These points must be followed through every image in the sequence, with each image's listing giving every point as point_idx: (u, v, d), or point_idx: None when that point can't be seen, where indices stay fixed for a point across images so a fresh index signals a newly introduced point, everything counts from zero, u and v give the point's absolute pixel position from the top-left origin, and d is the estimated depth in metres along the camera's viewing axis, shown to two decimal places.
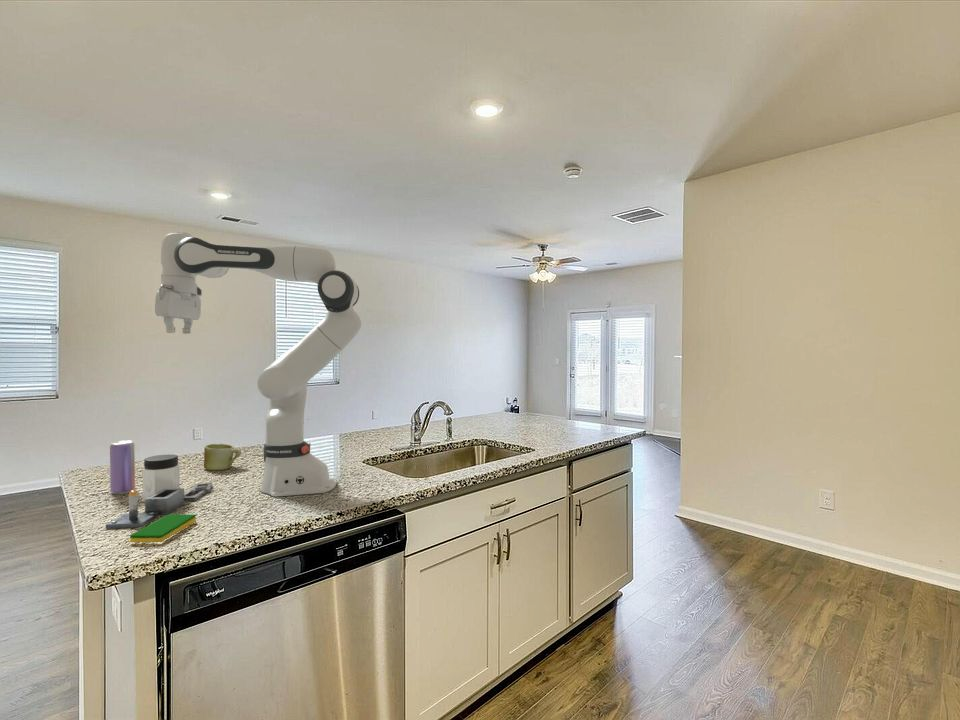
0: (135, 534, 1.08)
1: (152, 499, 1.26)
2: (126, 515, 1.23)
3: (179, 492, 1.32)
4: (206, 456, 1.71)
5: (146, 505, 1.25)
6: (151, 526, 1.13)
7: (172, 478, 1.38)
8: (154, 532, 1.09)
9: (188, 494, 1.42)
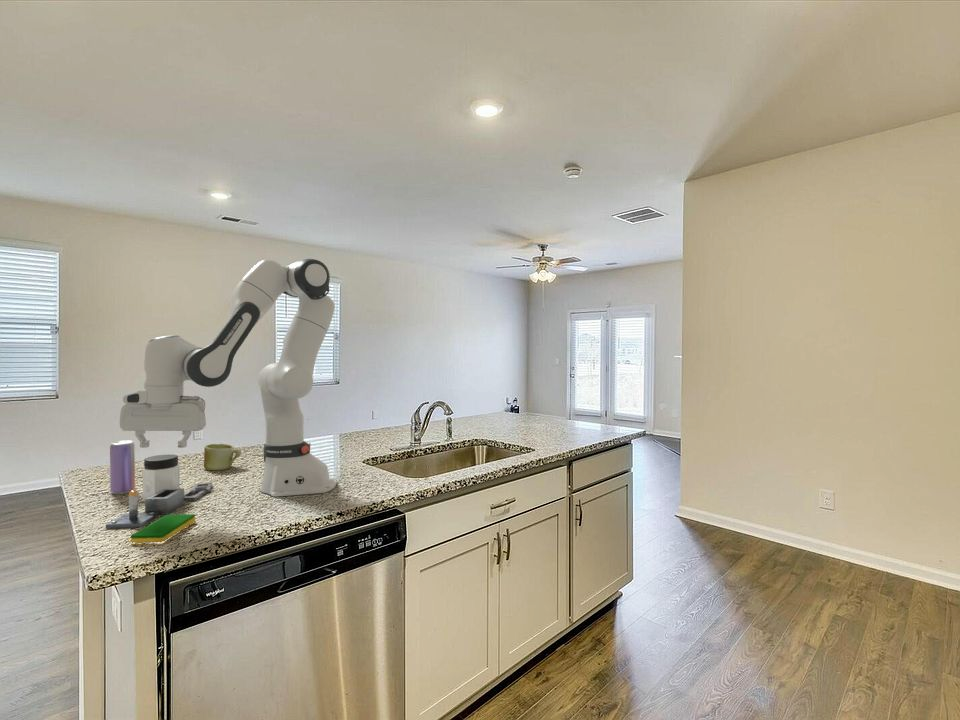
0: (136, 534, 1.08)
1: (152, 499, 1.26)
2: (126, 515, 1.23)
3: (179, 492, 1.32)
4: (206, 456, 1.71)
5: (146, 505, 1.25)
6: (151, 526, 1.13)
7: (172, 478, 1.38)
8: (155, 532, 1.09)
9: (188, 494, 1.42)
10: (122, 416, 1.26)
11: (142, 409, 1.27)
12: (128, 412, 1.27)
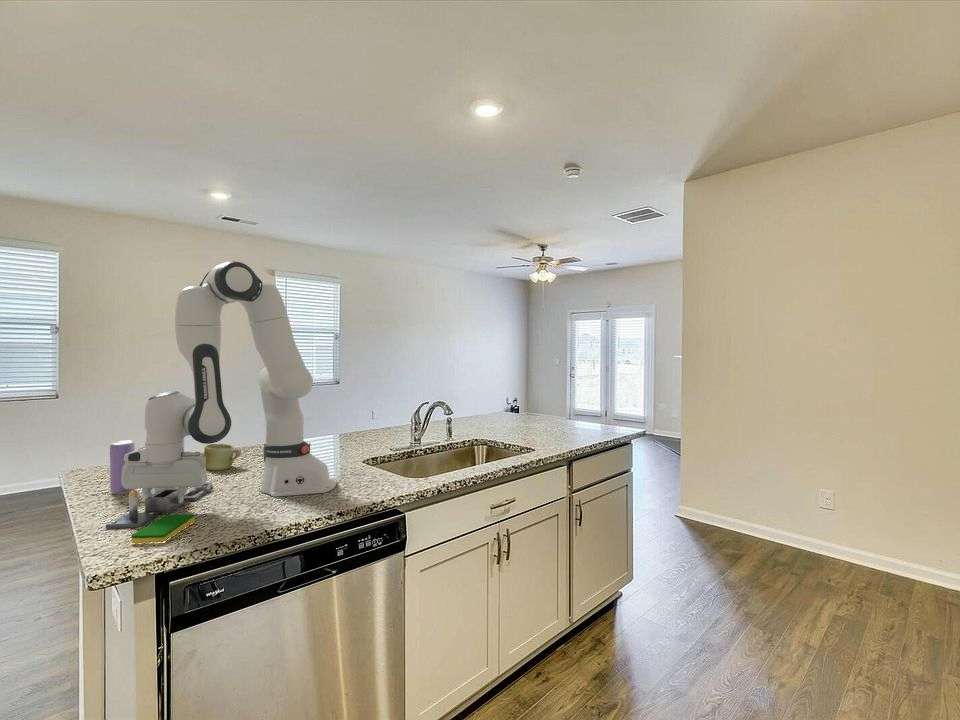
0: (136, 534, 1.08)
1: (152, 499, 1.26)
2: (126, 515, 1.23)
3: (179, 492, 1.32)
4: (206, 456, 1.71)
5: (146, 505, 1.25)
6: (151, 526, 1.13)
7: None
8: (156, 532, 1.10)
9: (188, 494, 1.42)
10: (123, 474, 1.27)
11: (143, 467, 1.28)
12: (130, 470, 1.27)
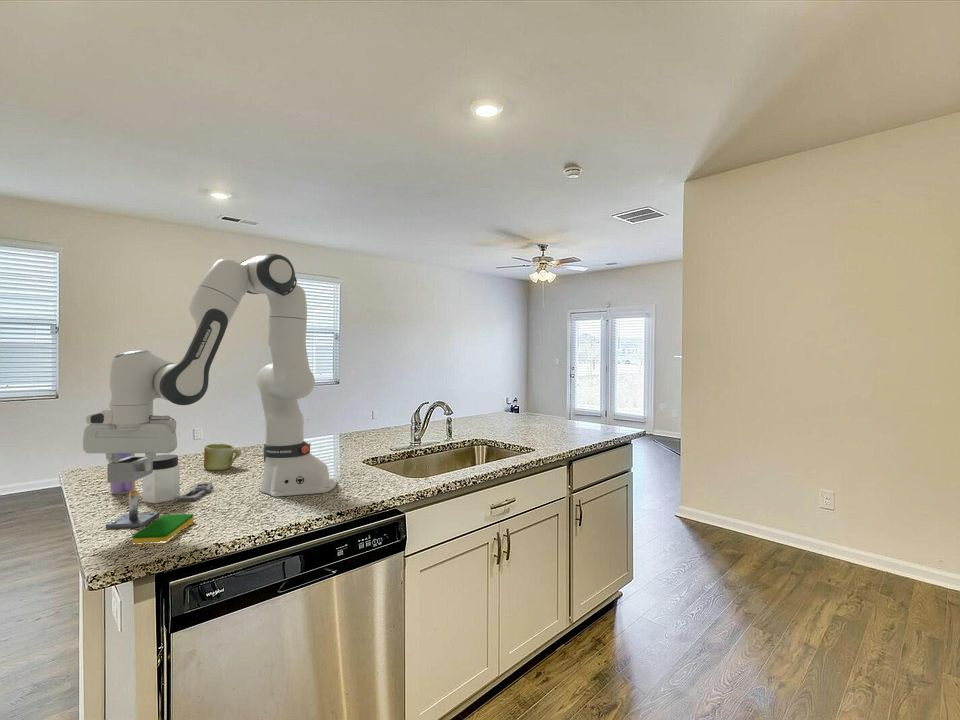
0: (137, 534, 1.08)
1: (115, 464, 1.16)
2: (126, 515, 1.23)
3: (146, 459, 1.22)
4: (206, 456, 1.71)
5: (109, 471, 1.16)
6: (151, 526, 1.13)
7: (172, 478, 1.38)
8: (157, 532, 1.10)
9: (188, 494, 1.42)
10: (85, 437, 1.17)
11: (107, 430, 1.18)
12: (92, 433, 1.17)
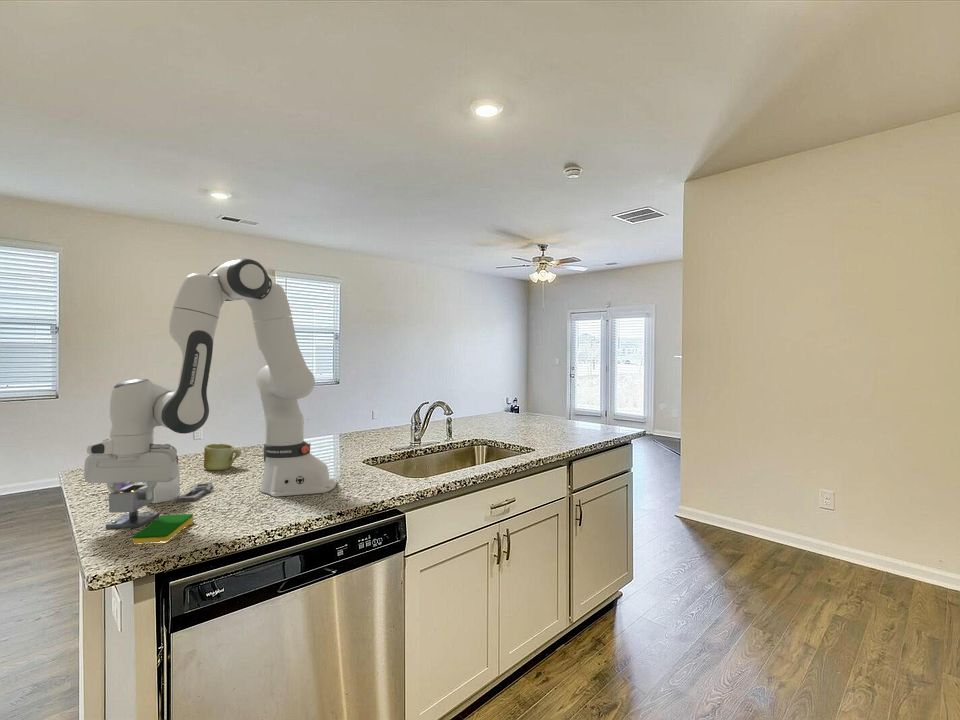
0: (138, 535, 1.08)
1: (117, 494, 1.16)
2: (126, 515, 1.23)
3: (148, 487, 1.23)
4: (206, 456, 1.71)
5: (110, 501, 1.16)
6: (151, 527, 1.13)
7: None
8: (157, 532, 1.10)
9: (188, 494, 1.42)
10: (86, 467, 1.17)
11: (108, 460, 1.18)
12: (93, 463, 1.18)
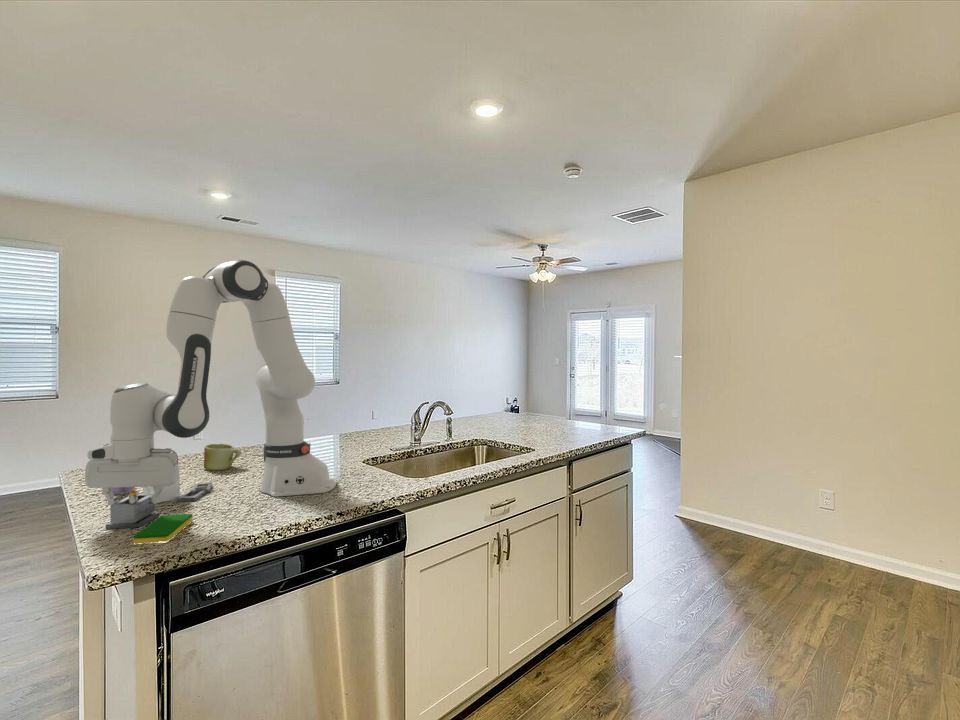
0: (138, 535, 1.08)
1: (118, 506, 1.16)
2: None
3: None
4: (206, 456, 1.71)
5: (111, 512, 1.16)
6: (151, 527, 1.13)
7: None
8: (158, 532, 1.10)
9: (188, 494, 1.42)
10: (87, 472, 1.17)
11: (109, 464, 1.18)
12: (94, 468, 1.18)
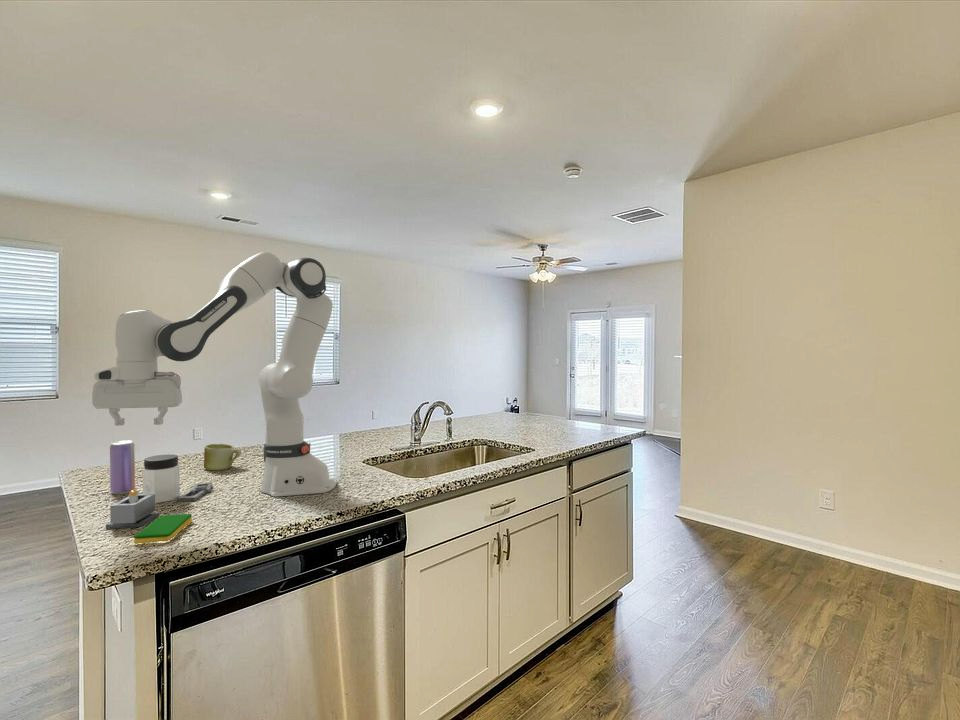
0: (139, 535, 1.08)
1: (118, 506, 1.16)
2: None
3: (149, 498, 1.23)
4: (206, 456, 1.71)
5: (111, 512, 1.16)
6: (151, 527, 1.13)
7: (172, 478, 1.38)
8: (159, 532, 1.10)
9: (188, 494, 1.42)
10: (94, 393, 1.23)
11: (115, 386, 1.24)
12: (101, 389, 1.24)
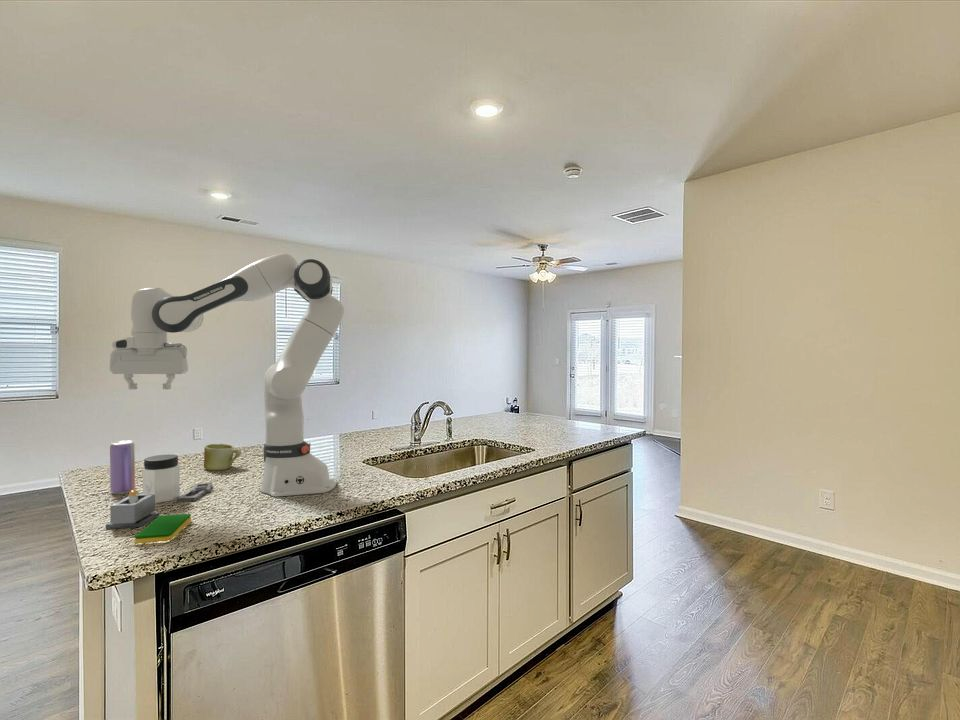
0: (140, 535, 1.08)
1: (118, 506, 1.16)
2: None
3: (149, 498, 1.23)
4: (206, 456, 1.71)
5: (111, 512, 1.16)
6: (152, 527, 1.13)
7: (172, 478, 1.38)
8: (160, 531, 1.10)
9: (188, 494, 1.42)
10: (111, 360, 1.40)
11: (130, 354, 1.41)
12: (117, 357, 1.41)
